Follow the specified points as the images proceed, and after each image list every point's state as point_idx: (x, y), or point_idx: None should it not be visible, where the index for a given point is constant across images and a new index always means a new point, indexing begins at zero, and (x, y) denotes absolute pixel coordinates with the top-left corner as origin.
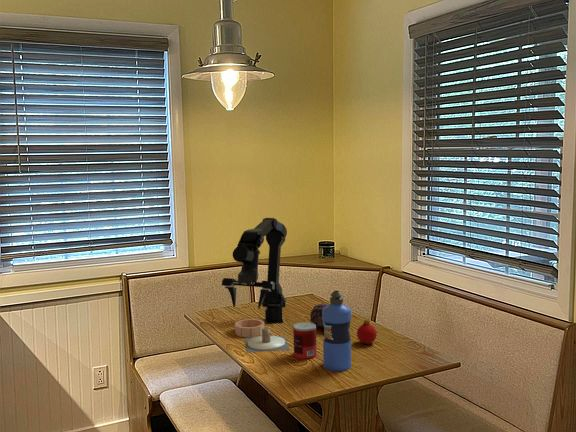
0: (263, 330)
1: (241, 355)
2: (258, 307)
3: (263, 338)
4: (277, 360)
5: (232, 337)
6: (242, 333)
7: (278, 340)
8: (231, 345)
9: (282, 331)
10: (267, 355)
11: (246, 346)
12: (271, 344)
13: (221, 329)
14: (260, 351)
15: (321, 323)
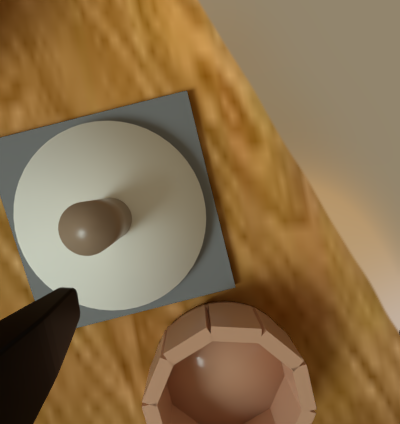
0: (99, 209)
1: (209, 71)
2: (63, 291)
3: (115, 202)
4: (24, 11)
5: (296, 310)
6: (251, 313)
7: (51, 239)
8: (281, 203)
9: (73, 406)
10: (85, 77)
11: (204, 174)
12: (76, 177)
13: (367, 413)
14: (123, 108)
15: None
